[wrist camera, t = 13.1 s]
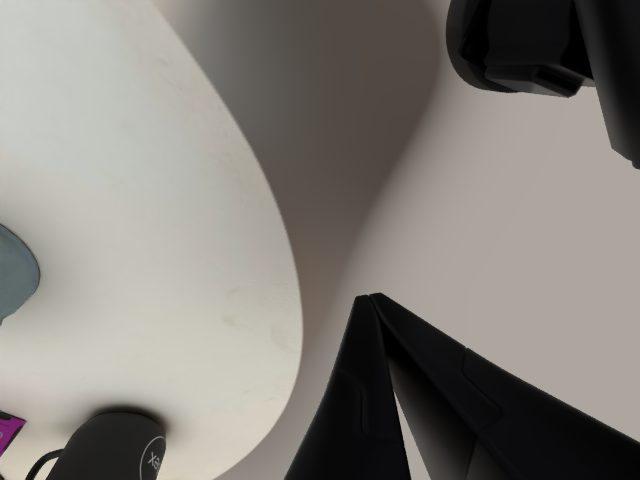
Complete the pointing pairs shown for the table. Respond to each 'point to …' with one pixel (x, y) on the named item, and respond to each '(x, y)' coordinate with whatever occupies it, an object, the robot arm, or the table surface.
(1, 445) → the candy bar box
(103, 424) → the mug
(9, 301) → the blue cup
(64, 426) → the table surface
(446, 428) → the robot arm
